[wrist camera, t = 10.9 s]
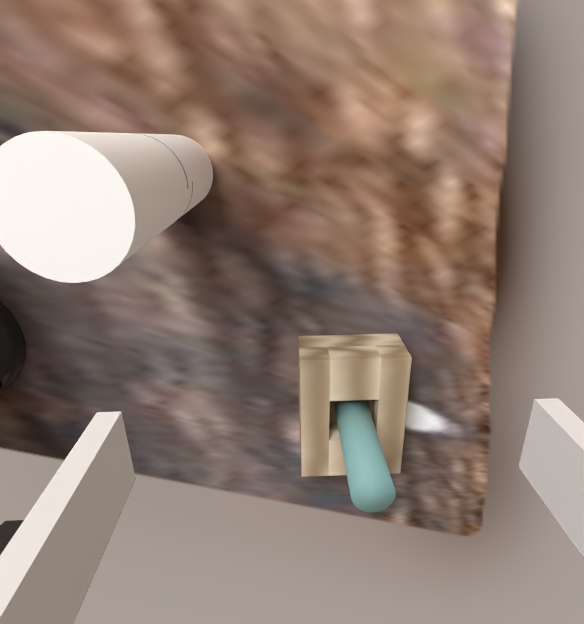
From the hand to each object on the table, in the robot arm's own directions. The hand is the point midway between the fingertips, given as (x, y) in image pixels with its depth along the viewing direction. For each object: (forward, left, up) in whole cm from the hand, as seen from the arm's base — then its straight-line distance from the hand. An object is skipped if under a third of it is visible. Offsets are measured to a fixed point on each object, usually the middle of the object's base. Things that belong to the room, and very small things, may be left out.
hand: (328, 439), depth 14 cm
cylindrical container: (-12, +6, -35) cm, 37 cm away
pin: (+6, -21, -32) cm, 38 cm away
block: (+6, -21, -35) cm, 41 cm away
